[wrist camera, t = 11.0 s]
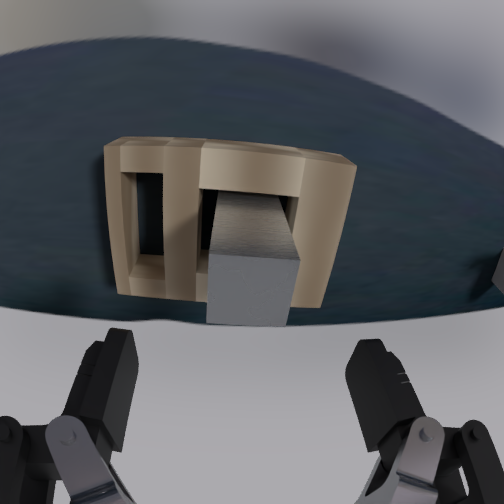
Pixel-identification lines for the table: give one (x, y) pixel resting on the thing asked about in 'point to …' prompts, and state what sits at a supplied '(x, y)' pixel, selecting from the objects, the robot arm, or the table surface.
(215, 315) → the grey rectangular block
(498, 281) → the lighter
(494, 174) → the table surface
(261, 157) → the holder
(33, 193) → the table surface
